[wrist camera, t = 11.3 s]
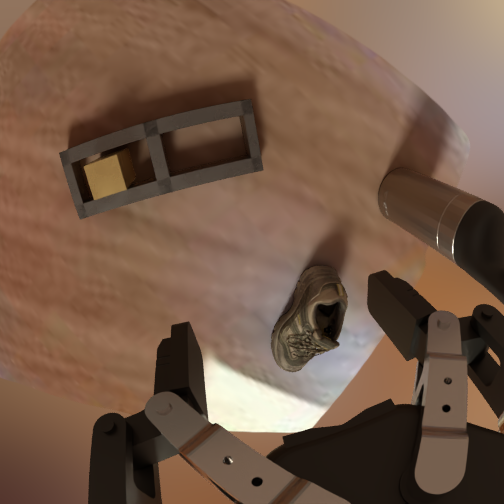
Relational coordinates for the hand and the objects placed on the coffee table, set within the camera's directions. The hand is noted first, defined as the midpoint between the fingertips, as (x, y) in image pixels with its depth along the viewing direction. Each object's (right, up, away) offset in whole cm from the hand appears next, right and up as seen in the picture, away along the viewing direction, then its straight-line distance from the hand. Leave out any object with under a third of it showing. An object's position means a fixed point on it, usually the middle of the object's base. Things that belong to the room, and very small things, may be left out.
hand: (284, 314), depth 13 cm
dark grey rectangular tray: (-13, +15, +23) cm, 30 cm away
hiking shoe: (+7, -8, +39) cm, 41 cm away
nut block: (-18, +14, +23) cm, 32 cm away
